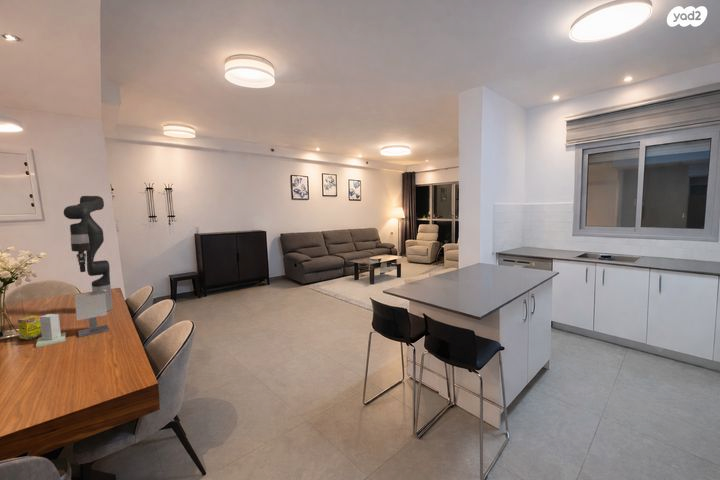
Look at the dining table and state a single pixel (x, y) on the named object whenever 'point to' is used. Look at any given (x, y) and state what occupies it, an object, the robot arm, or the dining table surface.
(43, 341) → the mat
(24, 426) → the dining table surface
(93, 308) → the block
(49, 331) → the skincare box
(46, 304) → the dining table surface
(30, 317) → the supplement box
